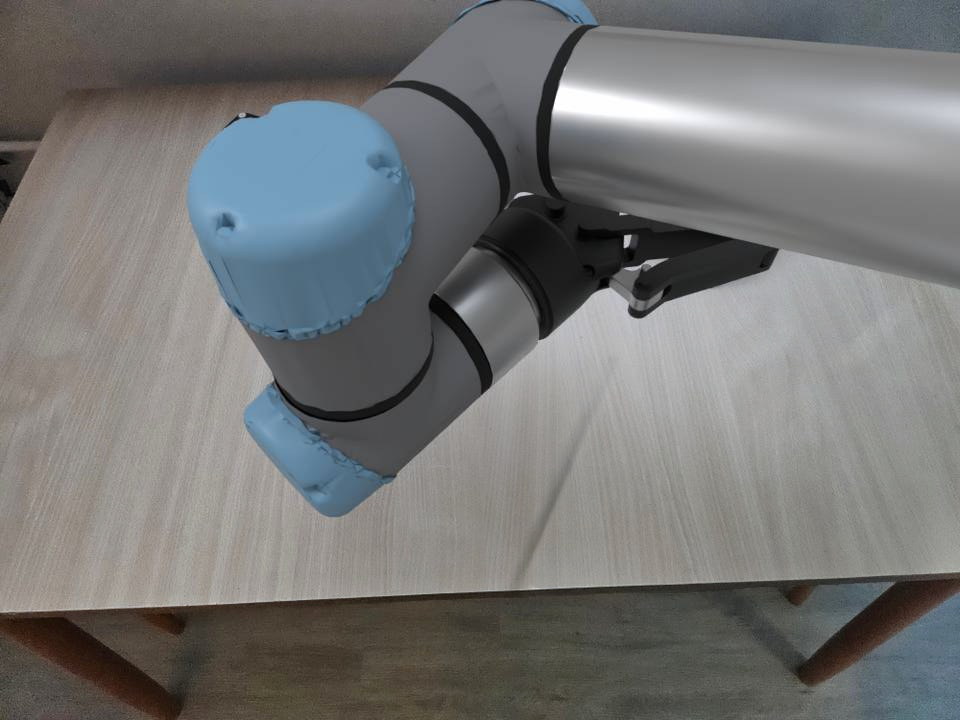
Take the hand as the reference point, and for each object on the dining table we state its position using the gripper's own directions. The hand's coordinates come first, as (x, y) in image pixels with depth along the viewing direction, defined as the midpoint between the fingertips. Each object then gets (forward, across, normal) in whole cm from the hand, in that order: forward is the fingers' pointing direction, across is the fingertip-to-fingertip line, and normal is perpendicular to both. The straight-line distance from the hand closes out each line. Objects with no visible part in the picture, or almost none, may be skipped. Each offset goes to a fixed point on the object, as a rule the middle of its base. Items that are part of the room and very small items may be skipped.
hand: (705, 122), depth 45 cm
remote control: (-6, -62, -30) cm, 69 cm away
